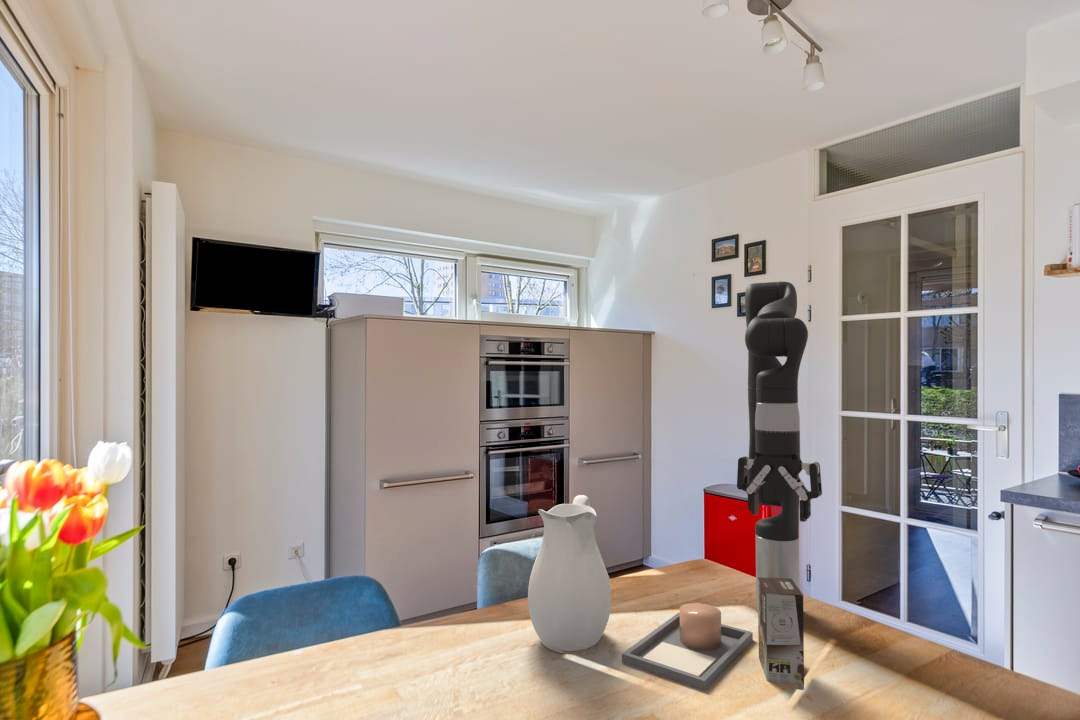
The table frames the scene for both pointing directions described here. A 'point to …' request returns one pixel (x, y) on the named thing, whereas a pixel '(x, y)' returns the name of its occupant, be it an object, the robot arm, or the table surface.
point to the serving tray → (685, 654)
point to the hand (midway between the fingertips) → (778, 517)
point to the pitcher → (569, 580)
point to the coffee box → (781, 630)
